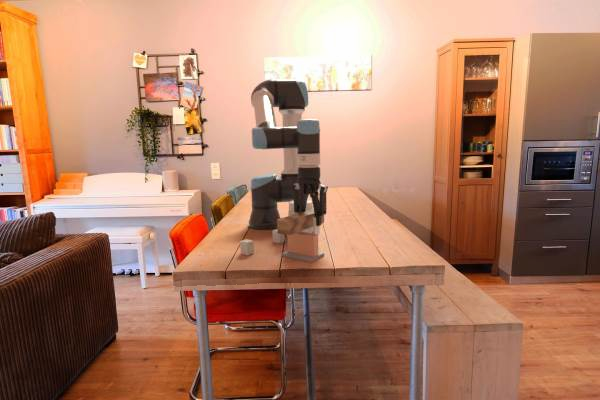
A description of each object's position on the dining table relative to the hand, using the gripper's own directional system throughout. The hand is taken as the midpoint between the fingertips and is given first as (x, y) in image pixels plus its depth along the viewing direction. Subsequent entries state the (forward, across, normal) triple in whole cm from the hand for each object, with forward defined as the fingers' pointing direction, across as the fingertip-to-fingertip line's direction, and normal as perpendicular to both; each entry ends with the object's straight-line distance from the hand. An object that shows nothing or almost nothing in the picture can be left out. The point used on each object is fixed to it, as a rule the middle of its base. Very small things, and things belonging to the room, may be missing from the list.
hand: (310, 233), depth 124 cm
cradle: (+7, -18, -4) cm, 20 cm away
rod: (-3, 0, -5) cm, 6 cm away
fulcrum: (+7, 0, -4) cm, 8 cm away
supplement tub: (+7, -14, +14) cm, 21 cm away
